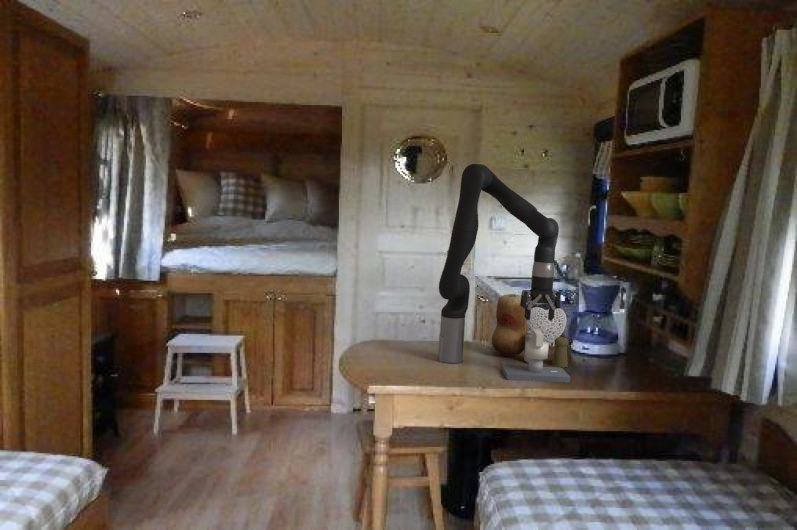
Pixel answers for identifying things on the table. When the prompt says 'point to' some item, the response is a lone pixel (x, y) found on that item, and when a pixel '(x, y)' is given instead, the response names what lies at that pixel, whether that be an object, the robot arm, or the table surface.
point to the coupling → (536, 346)
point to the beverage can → (529, 337)
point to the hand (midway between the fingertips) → (539, 319)
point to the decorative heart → (547, 323)
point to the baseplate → (535, 372)
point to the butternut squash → (509, 326)
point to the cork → (560, 352)
